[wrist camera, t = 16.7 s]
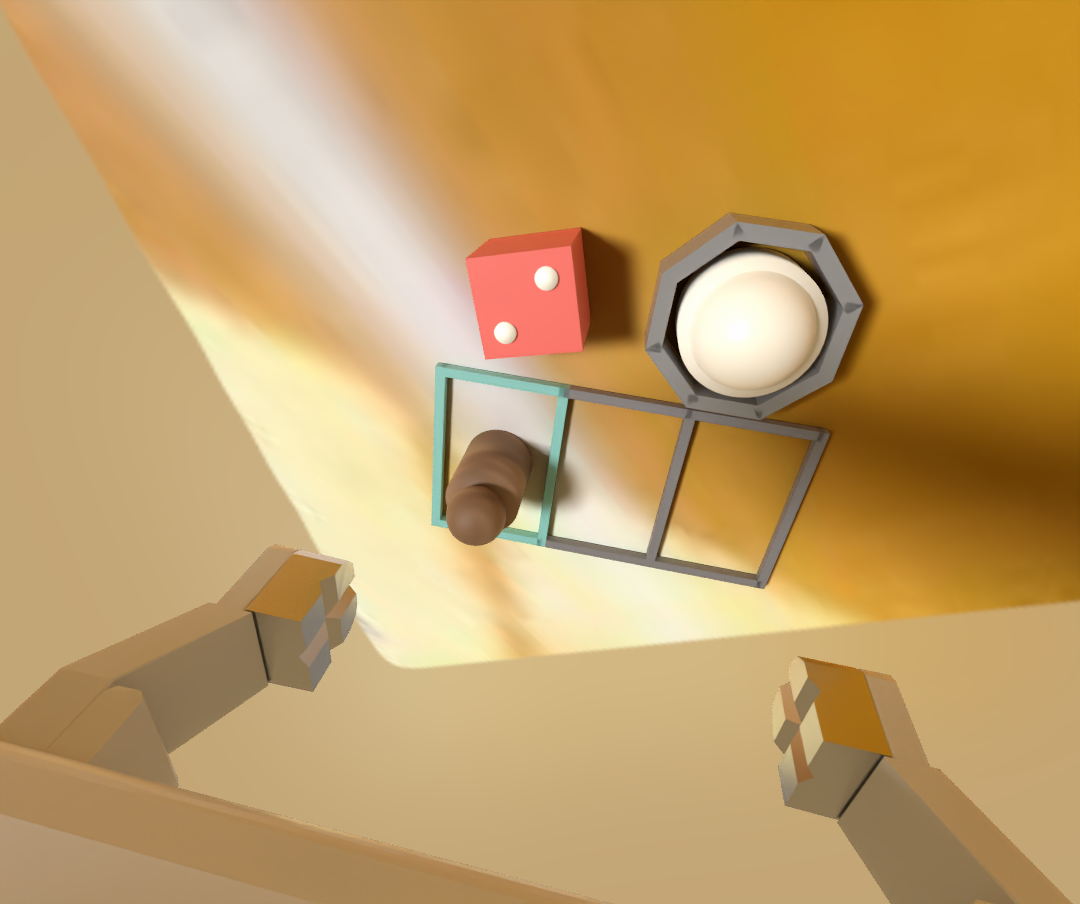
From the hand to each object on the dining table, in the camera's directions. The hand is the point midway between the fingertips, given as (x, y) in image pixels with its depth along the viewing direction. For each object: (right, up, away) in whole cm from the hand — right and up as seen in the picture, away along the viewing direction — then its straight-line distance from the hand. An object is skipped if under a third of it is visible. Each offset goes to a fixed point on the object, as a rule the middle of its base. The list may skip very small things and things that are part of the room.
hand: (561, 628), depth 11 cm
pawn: (-3, +3, +28) cm, 28 cm away
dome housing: (+10, +11, +21) cm, 26 cm away
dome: (+11, +11, +22) cm, 27 cm away
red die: (0, +13, +22) cm, 25 cm away
